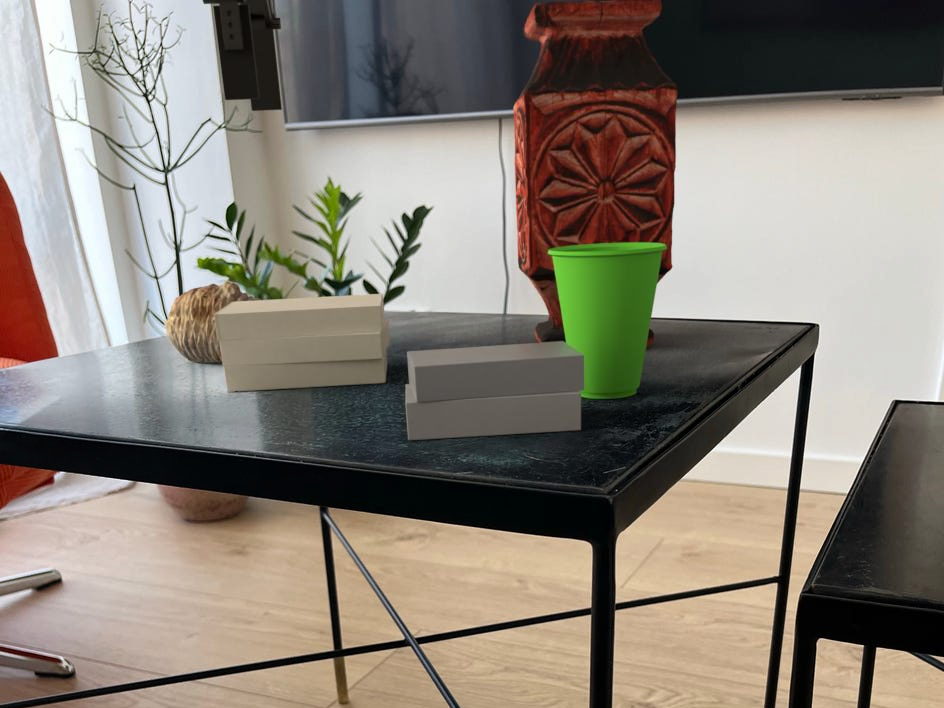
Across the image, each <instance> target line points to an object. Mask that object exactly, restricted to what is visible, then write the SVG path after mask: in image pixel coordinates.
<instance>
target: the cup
mask: <svg viewBox="0 0 944 708" xmlns="http://www.w3.org/2000/svg"><path fill="white" fill-rule="evenodd" d="M665 249H667V247H666V245H665V244H662V243H645V242H631V243H600V244H584V245H571V246H562V247H556V248H551V249H549V251H548V254H550V255H552V257H553V264H554V270H555V276H556V282H557V288H558V295H559V301H560V307H561V313H562V320H563V326H564V332H565V338H566V343H567V344H568V345H570V346H571V347H573V348H574V349H576V350H577V351H579V352H580V353H582V354H583V355H584V390H583V391H580V392H581V398H585V399H593V400H594V399H595V400H610V399H611V400H612V399H622V398H627V397H631V396H634V395H636V394H637V389H638V388H640V385H641V378H642V373H643V367H644V362H645V356H646V350H647V348H646V345H647V339H648V333H649V328H650V327H651V320H652V314H653V309H654V304H655V297H656V291H657V285H658V283H657V280H658V275H659V269H660V263H661V257H662V251H663V250H665Z"/></svg>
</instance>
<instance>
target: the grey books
mask: <svg viewBox="0 0 944 708" xmlns="http://www.w3.org/2000/svg"><path fill="white" fill-rule="evenodd" d="M406 358H407V371H408V372H407V373H408V383H406V384H405V402H404V403H405V415H406V429H407V440H408V442H409V441H410V442H411V441H423V440H424V441H425V440H440V439H457V438H473V437H493V436H507V435H508V436H509V435H522V434H523V435H524V434H525V435H526V434H541V433H557V432H559V433H561V432H574V431H575V432H577V431H581V430H582V397H581V392H580V391H583V390H584V355H583V354H582V353H580V352H579V351H577V350H576V349H574V348H573V347H571V346H570V345H568V344H567V343H565V342H564V341H557V342H542V343H539V342H529V343H528V342H527V343H515V344H514V343H512V344H500V345H499V344H498V345H485V346H484V345H483V346H469V347H455V348H439V349H437V348H436V349H425V350H410V351H406Z"/></svg>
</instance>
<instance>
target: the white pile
mask: <svg viewBox="0 0 944 708" xmlns="http://www.w3.org/2000/svg"><path fill="white" fill-rule="evenodd" d="M219 342H220V349H221V356H222V361H221V362H222V367H223V373H224V379H225V387H226V392H227V393H232V392H233V393H235V391H238V392H252V391H253V392H255V391H271V390H273V391H274V390H289V389H290V390H291V389H303V388H305V389H307V388H323V387H339V386H340V387H341V386H355V385H357V386H359V385H375V384H376V385H377V384H385V383H386V380H387V372H388V371H387V370H388V355H387V349H388V347H389V345H390V343H391V337H390V324H389V318H387V317H386V318H384V324H383V330H382V332H366V333H348V334H330V335H312V336H294V337H276V338H258V339H240V340H222V341H219Z"/></svg>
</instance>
